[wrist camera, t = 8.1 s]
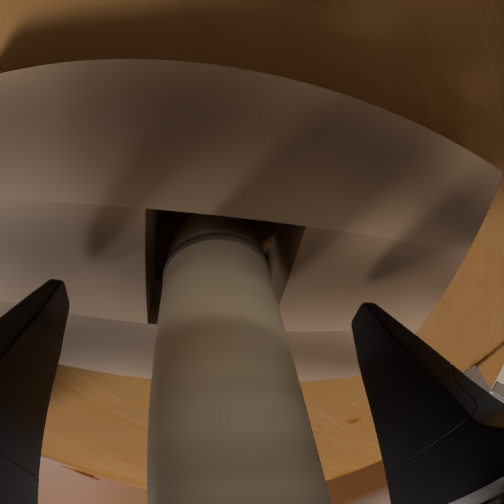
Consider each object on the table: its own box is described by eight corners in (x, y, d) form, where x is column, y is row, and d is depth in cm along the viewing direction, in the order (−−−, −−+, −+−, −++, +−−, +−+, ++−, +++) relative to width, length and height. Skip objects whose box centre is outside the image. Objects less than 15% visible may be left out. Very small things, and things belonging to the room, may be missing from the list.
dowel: (249, 276, 12) (303, 539, 4) (168, 269, 12) (156, 548, 3) (266, 203, 10) (381, 529, 2) (173, 193, 10) (133, 561, 2)
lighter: (448, 387, 27) (473, 438, 20) (447, 384, 26) (474, 437, 19) (492, 353, 25) (521, 401, 18) (493, 348, 24) (523, 398, 17)
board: (370, 339, 16) (385, 372, 14) (24, 316, 12) (9, 351, 10) (464, 150, 10) (503, 172, 8) (-16, 80, 6) (-58, 91, 4)
